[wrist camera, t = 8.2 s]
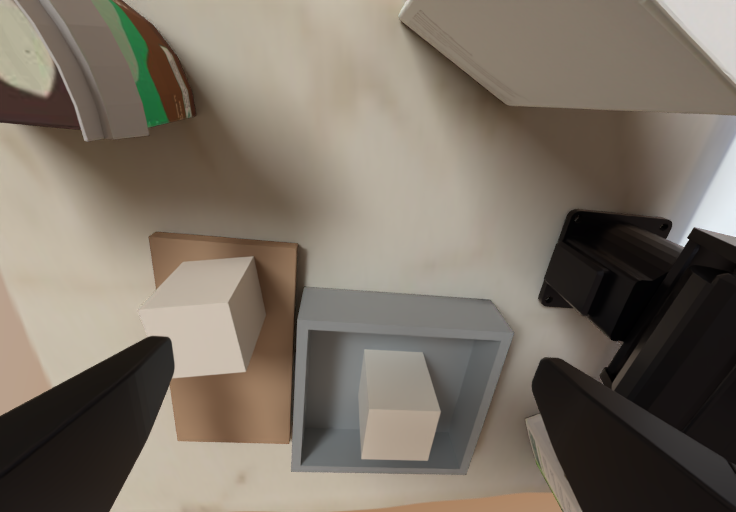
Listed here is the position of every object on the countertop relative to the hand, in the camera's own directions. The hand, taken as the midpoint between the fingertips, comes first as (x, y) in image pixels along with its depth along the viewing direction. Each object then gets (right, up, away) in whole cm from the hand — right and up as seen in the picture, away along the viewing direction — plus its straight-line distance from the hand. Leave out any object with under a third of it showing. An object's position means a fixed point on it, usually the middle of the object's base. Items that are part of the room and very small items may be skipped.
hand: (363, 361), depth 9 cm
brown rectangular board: (-9, -4, +15) cm, 18 cm away
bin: (+1, -5, +17) cm, 18 cm away
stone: (+2, -6, +16) cm, 17 cm away
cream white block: (-8, +1, +13) cm, 15 cm away
